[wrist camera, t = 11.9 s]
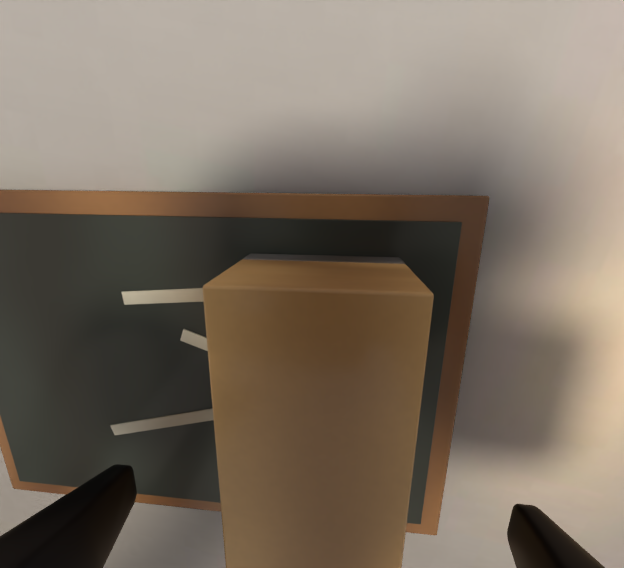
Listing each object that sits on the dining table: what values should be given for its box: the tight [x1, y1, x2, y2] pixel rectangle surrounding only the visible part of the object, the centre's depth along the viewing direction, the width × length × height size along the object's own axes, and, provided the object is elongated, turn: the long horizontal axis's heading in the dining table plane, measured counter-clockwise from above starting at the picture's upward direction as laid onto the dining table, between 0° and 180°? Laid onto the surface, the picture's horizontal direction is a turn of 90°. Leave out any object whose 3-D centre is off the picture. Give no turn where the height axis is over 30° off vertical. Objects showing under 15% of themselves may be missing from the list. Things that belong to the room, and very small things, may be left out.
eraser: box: [202, 253, 434, 568], centre depth 10 cm, size 5×10×4 cm, turn 179°
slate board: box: [0, 190, 489, 535], centre depth 13 cm, size 20×14×1 cm
